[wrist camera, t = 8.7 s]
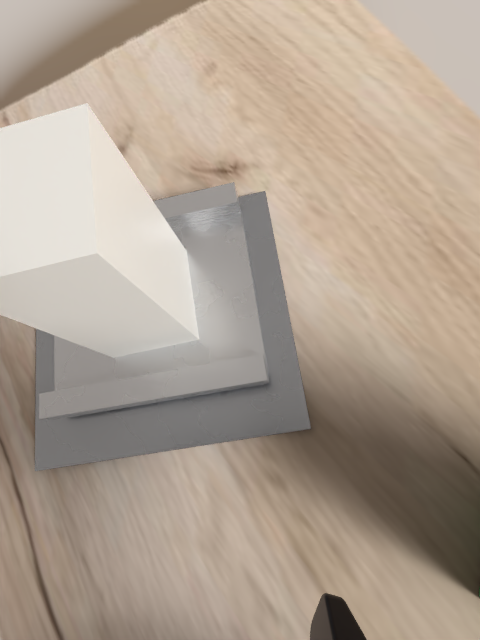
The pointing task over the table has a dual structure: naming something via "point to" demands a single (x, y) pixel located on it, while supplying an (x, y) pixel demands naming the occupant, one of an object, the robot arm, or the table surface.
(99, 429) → the rail panel
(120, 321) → the block
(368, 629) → the table surface
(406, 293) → the table surface
